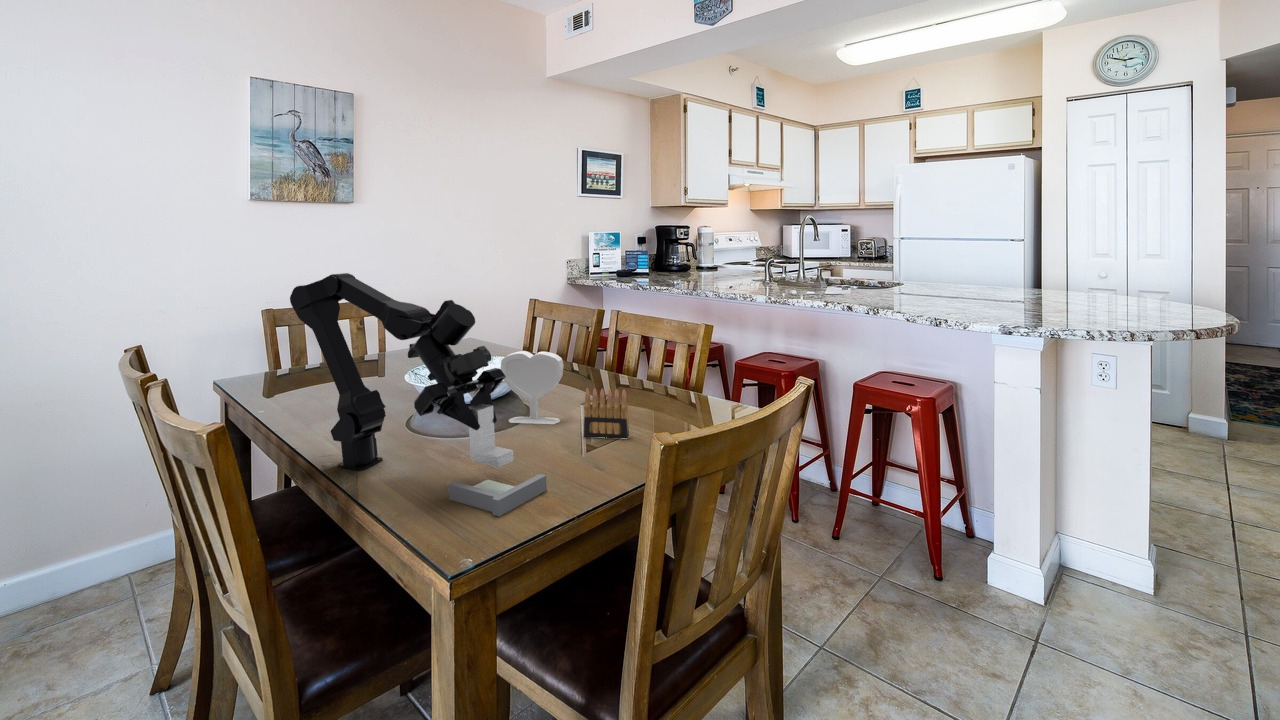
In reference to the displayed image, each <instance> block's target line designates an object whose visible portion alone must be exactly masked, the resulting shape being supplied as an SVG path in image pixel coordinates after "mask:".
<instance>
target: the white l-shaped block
mask: <svg viewBox="0 0 1280 720" xmlns="http://www.w3.org/2000/svg"><path fill="white" fill-rule="evenodd" d="M493 408H494V405H488V404H481V405H478V406H474V407H473V406H472V407H469V409H470V410H471V412H472V413H473V415H474V416H475V418H476V420H477V421H478V423H479V425H480V428H479V429H478V430H474V429H472V428H471V427H469V426H468V437H469V455H470V461H472V462H476V463H481V464H485V465H487V466H491V467H492V466H493V467H496V468H500V467H503V466H504V465H507V464H510V463H511V462H513V461H514V460H515V459H514V450H513V449H510V448H505V447H501V446H496V438H495V437H496V436H495V435H496V434H495V424H494V412H493Z"/></svg>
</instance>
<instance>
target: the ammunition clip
mask: <svg viewBox="0 0 1280 720" xmlns="http://www.w3.org/2000/svg"><path fill="white" fill-rule="evenodd" d="M584 393H585V395H584V406H583V407H584V412H583V413H584V418H583V438H584V437H605V438H606V437H607V438H628V436H629V437H630V434H629V433H630V431H629V414H628V413H629V411H628V399H627V392H626V389H624V388H623V390H622V393H621V401H620V394H619V393H620V392H619V390H618V388H616V389H615V391H614V399H613V395H612V391H611V389H610V388H608V390H607V396H606V395H605V391H604V388H601V389H600V393H599V398H598V393H597V389H596V388H593V391H592V396H591V394H590V393H591V392H590V389H589V387H587V388H586V390H585V392H584ZM591 397H592V399H591ZM598 399H599V400H598ZM591 400H592V401H591ZM620 402H621V404H620ZM591 403H592V404H591ZM628 439H629V438H628Z"/></svg>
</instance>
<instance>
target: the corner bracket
mask: <svg viewBox="0 0 1280 720" xmlns="http://www.w3.org/2000/svg"><path fill="white" fill-rule="evenodd" d="M473 486H474V485H469V484H465V483H462V482H458V481H451V482H449V483H447V493H448V500H450V501H454V502H457V503H460V504H464V505H467V506H471V507H474V508H477V509H481V510H484V511H487V512H490V513H492V515H493V516H495V517H501V516H503V515H505V514H506V513H507V514H508V512H510V511H512V510H515V508H517V507H519V506H522V505H523V504H525V503H526V502H529V501H530V500H532V499H534V498H536V497H537V496H539V495H541V494H544V492H546V491H548V490H547V489H548V488H547V486H548V485H547V474H546V475H545V474H543V473H539V474H537V475H535V476H534V477H531V478H529V479H527V480H525V481H524V482H521V483H520V484H518V485H515V486H514V487H513V488H512V489H510V490H508V491H506V492H504V493H502V494H499V493H495V492H492V491H488V490H484V489H481V488H477V487H473Z"/></svg>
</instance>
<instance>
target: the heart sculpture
mask: <svg viewBox="0 0 1280 720" xmlns="http://www.w3.org/2000/svg"><path fill="white" fill-rule="evenodd" d="M500 361H501V362H500V369H501V370H502V372H503V373H504V375H505V376H506V377H505V379H504V380H503V381H504V382H505V384H506V386H508V388H509V389H510V390H512V391H513V392H514V393H515V394H516V395H518V396H519V397H521V398H523V399H525V400H526V401H528V402H529V416H515V417H512V418H509V419H508V422H509V423H512V424H534V425H535V424H537V425H538V424H539V425H542V424H543V425H555V424H557V423H560V422H561V420H560V418H557V417H545V416H539V399H542V397H545V396H546V395H547V394H549V392H551V391H552V390H554V388H555V387H556V386H557V385H558V384H559V382H560V381H561V379H562V377H563V373H564V366H565V365H564V362H563V358H562V357H561V356H559V354H556V353H553V352H550V351H549V352H548V351H543V350H542V351H539V352H537V353H535V354H533V353H532V352H530V351H527V350H519V351H516V352H515V351H514V352H512V353H509V354H508V355H506V356H504V357H503V358H502V359H501V360H500Z"/></svg>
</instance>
